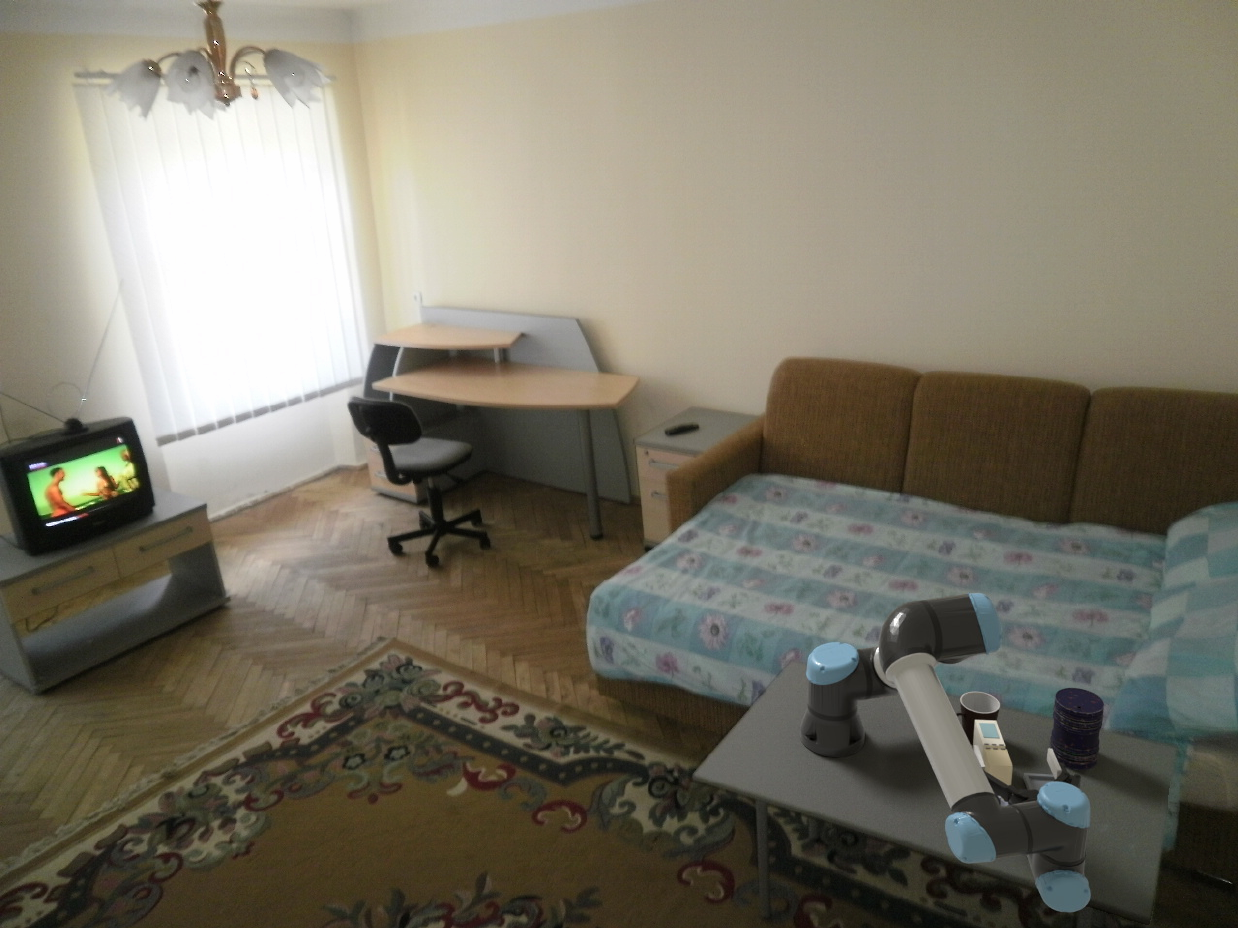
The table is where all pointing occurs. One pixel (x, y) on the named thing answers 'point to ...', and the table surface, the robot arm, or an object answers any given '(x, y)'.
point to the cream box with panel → (987, 735)
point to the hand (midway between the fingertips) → (1012, 752)
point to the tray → (1037, 780)
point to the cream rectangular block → (998, 764)
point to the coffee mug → (977, 710)
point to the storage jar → (1076, 728)
